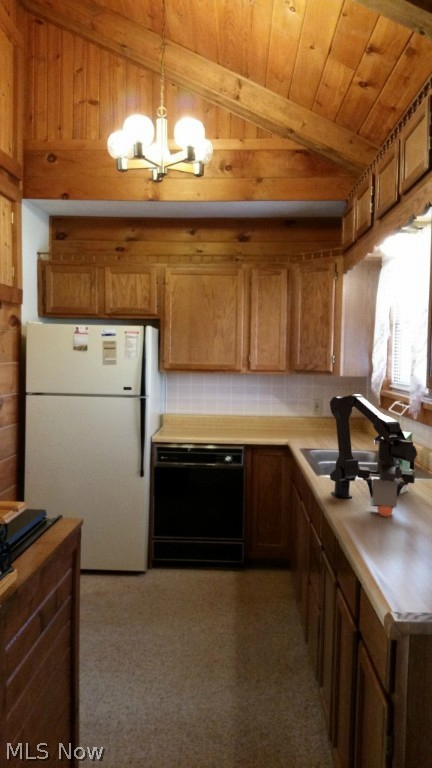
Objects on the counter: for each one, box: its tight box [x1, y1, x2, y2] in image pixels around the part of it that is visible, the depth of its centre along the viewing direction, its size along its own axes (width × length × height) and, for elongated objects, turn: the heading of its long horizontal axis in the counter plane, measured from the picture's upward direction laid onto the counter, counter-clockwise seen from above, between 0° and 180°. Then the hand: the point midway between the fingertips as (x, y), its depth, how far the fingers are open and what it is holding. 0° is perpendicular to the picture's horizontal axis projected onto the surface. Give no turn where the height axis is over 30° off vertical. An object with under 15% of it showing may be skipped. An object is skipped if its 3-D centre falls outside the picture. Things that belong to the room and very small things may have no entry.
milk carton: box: [378, 430, 413, 496], centre depth 193 cm, size 9×9×25 cm
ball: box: [377, 505, 394, 517], centre depth 161 cm, size 5×5×5 cm
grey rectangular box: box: [370, 478, 398, 509], centre depth 164 cm, size 8×8×9 cm
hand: (383, 498), depth 163 cm, fingers closed on grey rectangular box, 8 cm apart
